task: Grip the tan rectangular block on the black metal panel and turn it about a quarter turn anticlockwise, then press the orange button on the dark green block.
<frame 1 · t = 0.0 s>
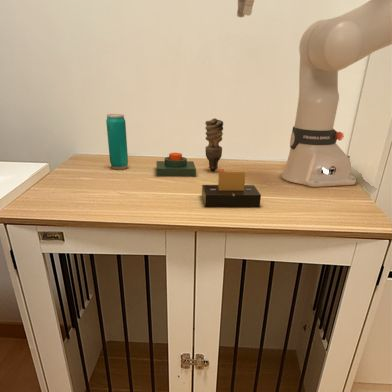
hand: (243, 16, 102), 39 cm above the cabinet, tool pointing down, fingers open, 8 cm apart
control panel: (229, 201, 107), on the cabinet
button: (175, 157, 127), point 4 cm above the cabinet, slide at 0.1 cm
beverage can: (119, 168, 132), on the cabinet
button block: (175, 172, 130), on the cabinet
light bulb: (212, 171, 133), on the cabinet
tan rectangular block: (231, 180, 104), point 5 cm above the cabinet, hinge at 0.0°
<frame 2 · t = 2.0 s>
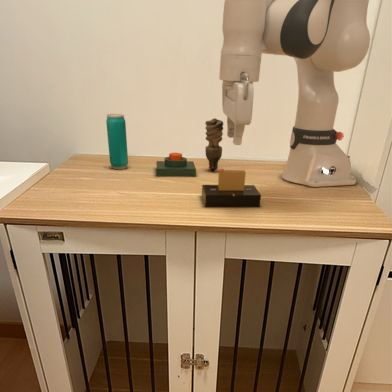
hand: (233, 140, 98), 14 cm above the cabinet, tool pointing down, fingers open, 8 cm apart
nothing on the cabinet moved.
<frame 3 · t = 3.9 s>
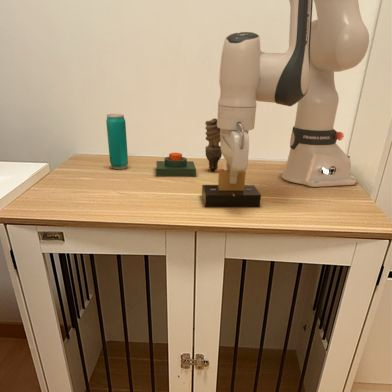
hand: (231, 181, 104), 5 cm above the cabinet, tool pointing down, fingers closed on tan rectangular block, 2 cm apart
tan rectangular block: (231, 180, 104), point 5 cm above the cabinet, hinge at -0.1°, touching gripper
everything else where it was.
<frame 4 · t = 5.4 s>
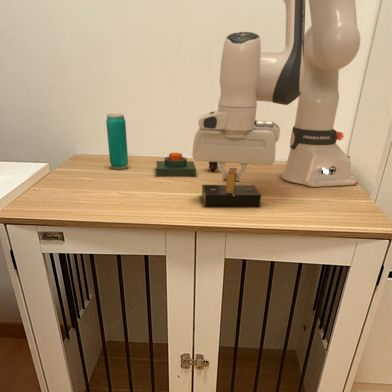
hand: (231, 181, 104), 5 cm above the cabinet, tool pointing down, fingers closed, pressing on tan rectangular block
tan rectangular block: (231, 180, 104), point 5 cm above the cabinet, hinge at 76.4°, touching gripper
everything else where it was.
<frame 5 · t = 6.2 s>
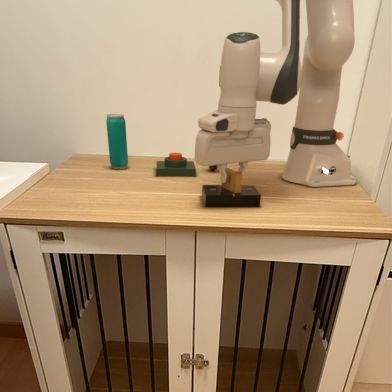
hand: (231, 181, 104), 5 cm above the cabinet, tool pointing down, fingers open, 3 cm apart
tan rectangular block: (231, 180, 104), point 5 cm above the cabinet, hinge at 114.3°
everything else where it was.
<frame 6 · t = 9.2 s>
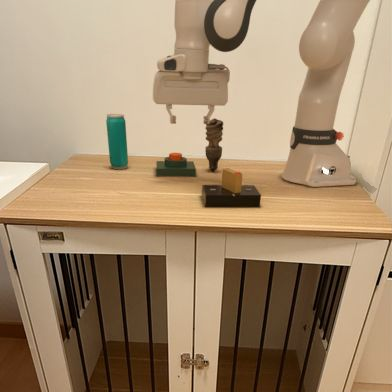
hand: (189, 123, 114), 15 cm above the cabinet, tool pointing down, fingers open, 8 cm apart
nothing on the cabinet moved.
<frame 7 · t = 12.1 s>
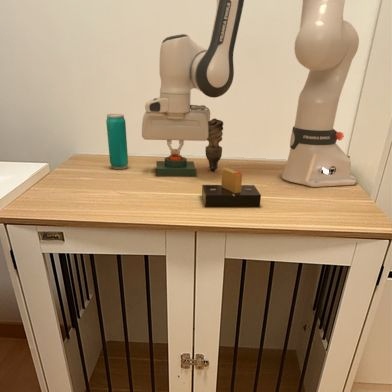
hand: (175, 155, 127), 5 cm above the cabinet, tool pointing down, fingers closed, pressing on button
button: (175, 159, 128), point 4 cm above the cabinet, slide at -0.5 cm, touching gripper
everything else where it was.
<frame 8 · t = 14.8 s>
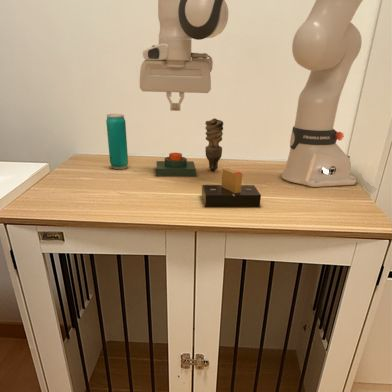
hand: (175, 110, 120), 17 cm above the cabinet, tool pointing down, fingers closed
button: (175, 157, 127), point 4 cm above the cabinet, slide at 0.1 cm
everything else where it was.
at the end: tan rectangular block at +114° (first picture: +0°); button pushed in 1.1 cm at the most during the clip, back to where it started at the end; button slide at 0.1 cm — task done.
